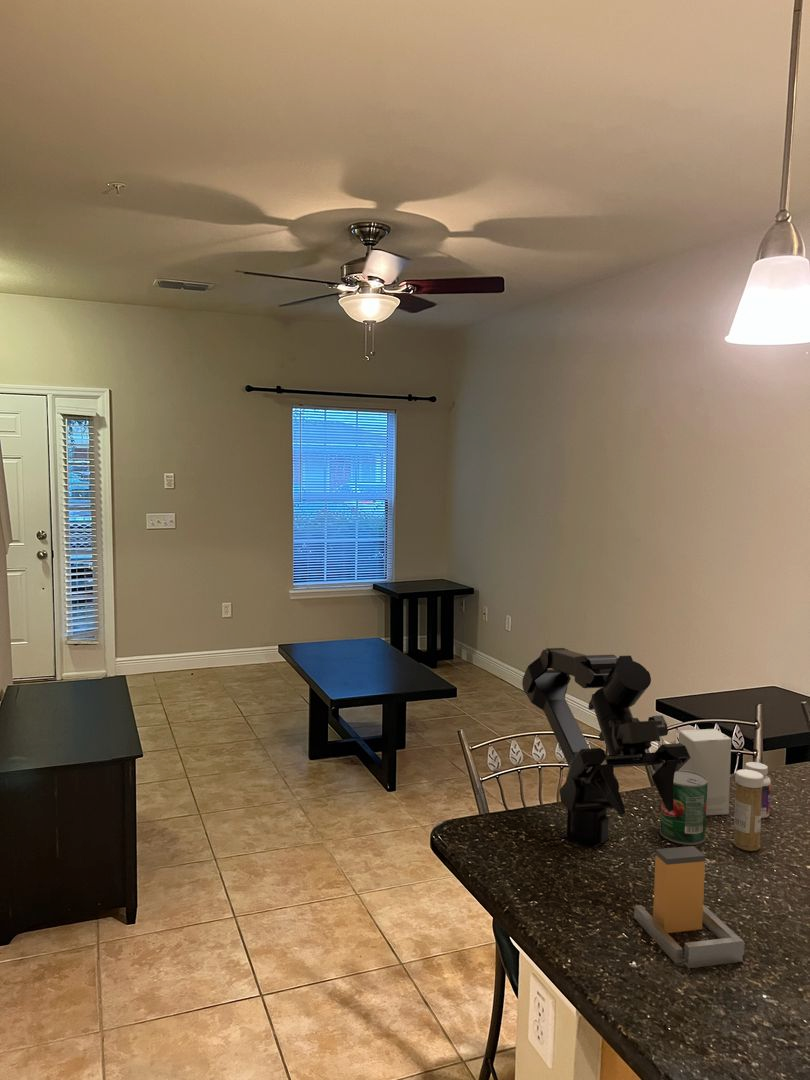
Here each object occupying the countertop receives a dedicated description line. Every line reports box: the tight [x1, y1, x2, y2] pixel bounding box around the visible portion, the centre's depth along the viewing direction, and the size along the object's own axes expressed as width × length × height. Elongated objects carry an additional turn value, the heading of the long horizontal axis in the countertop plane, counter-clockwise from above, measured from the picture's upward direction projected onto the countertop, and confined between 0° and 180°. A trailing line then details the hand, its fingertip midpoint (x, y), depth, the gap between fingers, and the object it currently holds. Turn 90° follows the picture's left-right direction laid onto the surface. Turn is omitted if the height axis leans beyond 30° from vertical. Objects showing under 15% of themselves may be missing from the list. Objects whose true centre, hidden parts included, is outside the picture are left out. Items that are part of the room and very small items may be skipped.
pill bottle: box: [744, 761, 772, 819], centre depth 151 cm, size 5×5×10 cm
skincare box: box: [678, 728, 733, 817], centre depth 152 cm, size 8×7×16 cm
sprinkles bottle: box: [732, 768, 764, 852], centre depth 137 cm, size 5×5×14 cm
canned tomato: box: [659, 770, 708, 846], centre depth 141 cm, size 8×8×11 cm
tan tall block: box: [652, 845, 706, 934], centre depth 109 cm, size 3×6×11 cm, turn 102°
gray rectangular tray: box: [633, 904, 746, 969], centre depth 108 cm, size 16×10×4 cm, turn 12°
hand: (647, 812), depth 118 cm, fingers open, 8 cm apart
